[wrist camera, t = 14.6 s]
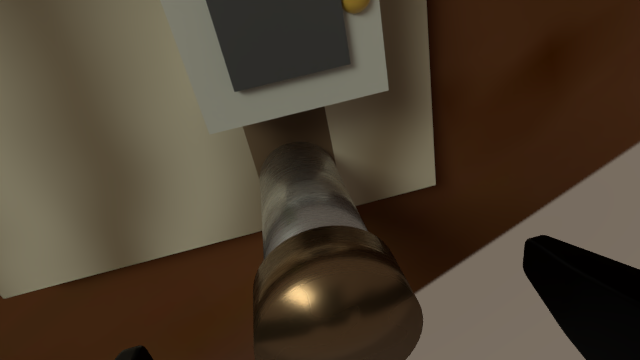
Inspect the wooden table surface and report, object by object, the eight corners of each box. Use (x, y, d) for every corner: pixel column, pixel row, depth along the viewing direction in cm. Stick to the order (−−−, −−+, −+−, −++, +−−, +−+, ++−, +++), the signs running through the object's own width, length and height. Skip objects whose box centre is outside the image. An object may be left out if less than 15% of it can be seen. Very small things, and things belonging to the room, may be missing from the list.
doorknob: (265, 226, 15) (278, 412, 9) (239, 147, 13) (230, 303, 7) (350, 204, 15) (427, 368, 9) (335, 123, 14) (417, 252, 7)
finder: (217, 105, 12) (208, 139, 10) (156, -73, 10) (120, -96, 7) (361, 70, 13) (393, 93, 10) (336, -111, 10) (369, -148, 7)
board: (23, 273, 16) (3, 298, 15) (-228, -48, 10) (-298, -53, 9) (421, 169, 17) (435, 184, 16) (396, -175, 11) (416, -197, 10)
